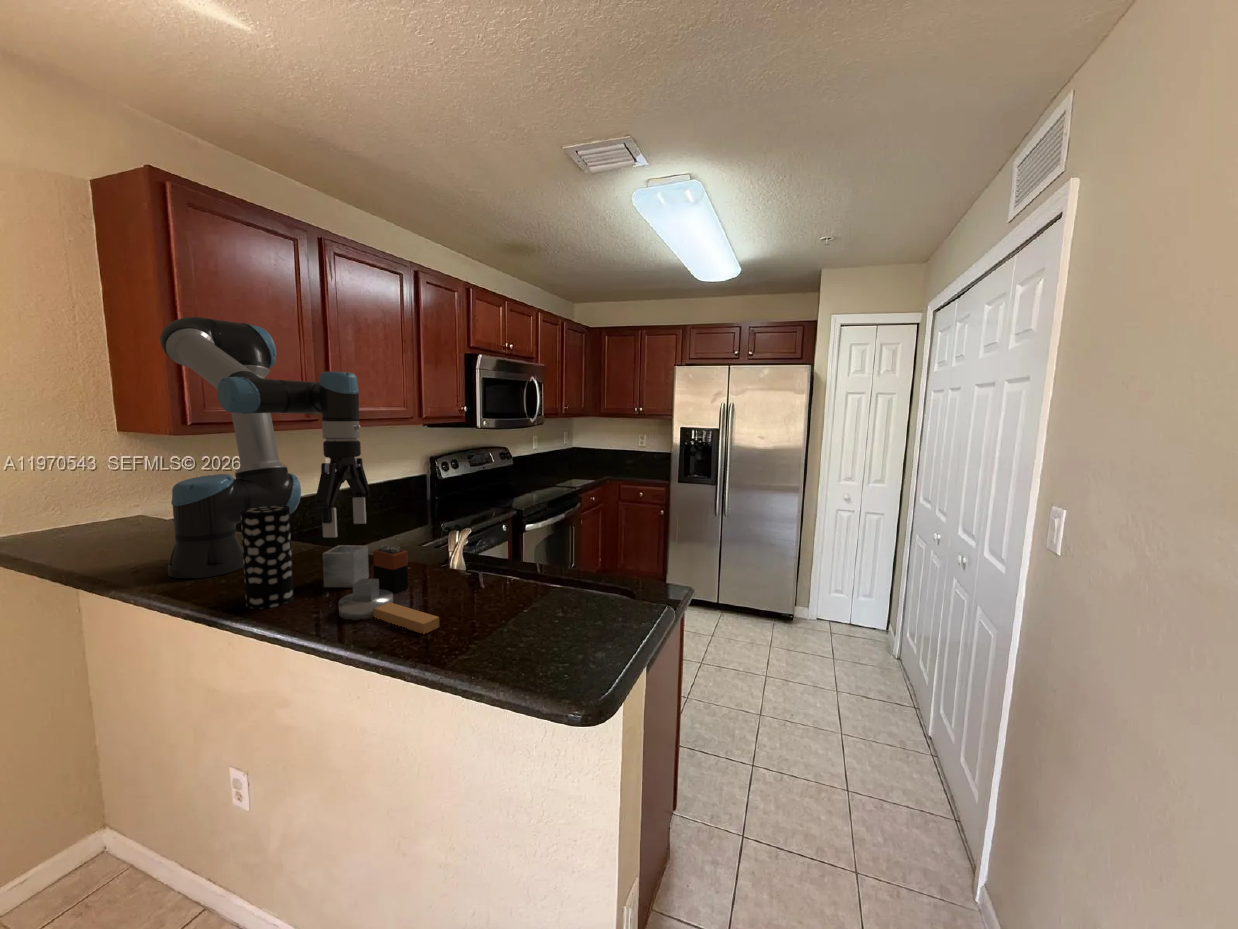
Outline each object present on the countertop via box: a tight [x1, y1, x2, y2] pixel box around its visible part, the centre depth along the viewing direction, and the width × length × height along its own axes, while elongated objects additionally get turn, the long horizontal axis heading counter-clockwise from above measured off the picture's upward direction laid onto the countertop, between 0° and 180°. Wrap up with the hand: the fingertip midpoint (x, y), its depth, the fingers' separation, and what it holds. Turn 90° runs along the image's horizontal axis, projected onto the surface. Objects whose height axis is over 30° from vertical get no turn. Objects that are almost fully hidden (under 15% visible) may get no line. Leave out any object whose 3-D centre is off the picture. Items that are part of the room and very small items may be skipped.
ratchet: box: [338, 578, 440, 635], centre depth 98 cm, size 24×10×6 cm, turn 62°
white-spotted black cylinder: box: [240, 505, 295, 610], centre depth 103 cm, size 8×8×20 cm
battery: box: [372, 544, 409, 595], centre depth 113 cm, size 4×7×10 cm, turn 62°
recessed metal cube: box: [322, 544, 370, 588], centre depth 116 cm, size 7×7×8 cm
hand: (346, 529), depth 115 cm, fingers open, 13 cm apart
